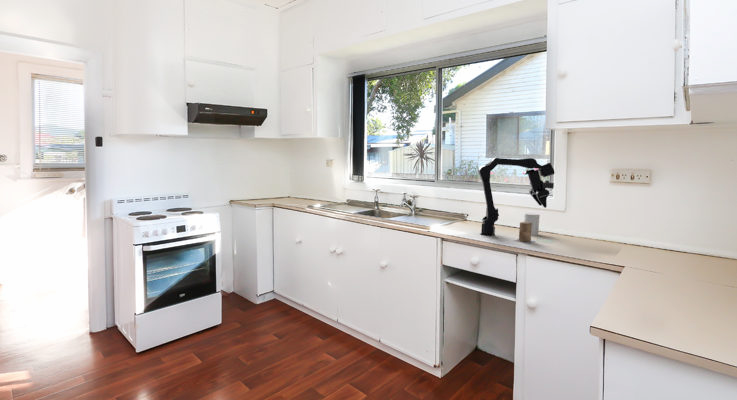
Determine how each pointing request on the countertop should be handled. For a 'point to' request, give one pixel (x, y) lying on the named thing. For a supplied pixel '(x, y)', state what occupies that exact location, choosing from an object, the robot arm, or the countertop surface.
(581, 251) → the countertop surface
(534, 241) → the silicone mat
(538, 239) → the ceramic tile
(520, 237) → the walnut block
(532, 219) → the cup
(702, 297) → the countertop surface
